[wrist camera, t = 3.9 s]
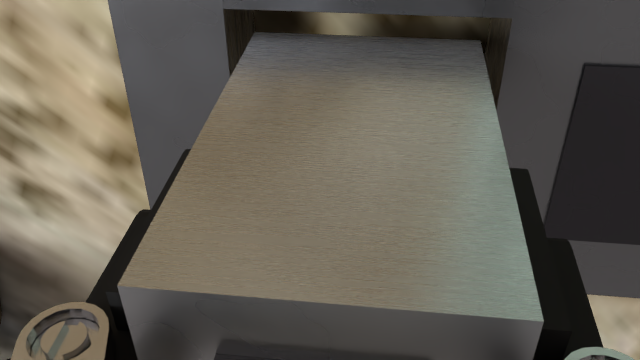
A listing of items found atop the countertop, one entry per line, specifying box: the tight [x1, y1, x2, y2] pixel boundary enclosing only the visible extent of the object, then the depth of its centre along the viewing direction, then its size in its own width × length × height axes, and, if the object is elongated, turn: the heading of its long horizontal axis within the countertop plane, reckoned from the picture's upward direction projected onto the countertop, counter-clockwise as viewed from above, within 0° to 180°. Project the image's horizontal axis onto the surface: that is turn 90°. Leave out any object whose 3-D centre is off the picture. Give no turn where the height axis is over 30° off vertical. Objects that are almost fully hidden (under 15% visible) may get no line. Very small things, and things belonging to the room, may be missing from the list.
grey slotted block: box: [108, 0, 640, 298], centre depth 17 cm, size 9×20×3 cm, turn 90°
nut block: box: [117, 32, 544, 360], centre depth 12 cm, size 5×5×8 cm
